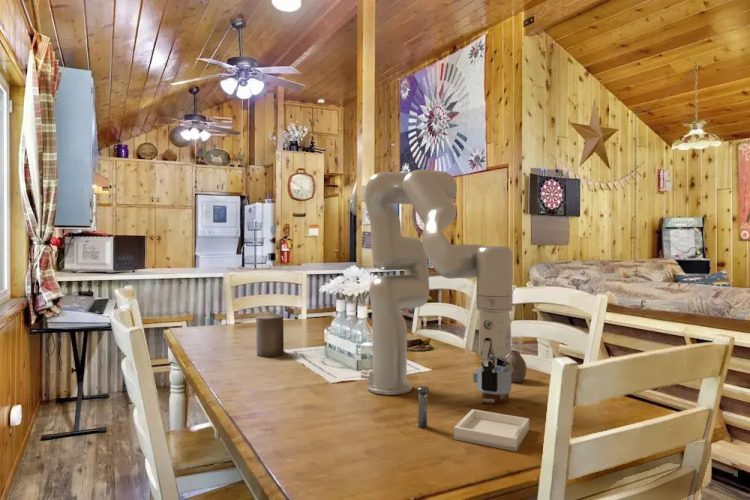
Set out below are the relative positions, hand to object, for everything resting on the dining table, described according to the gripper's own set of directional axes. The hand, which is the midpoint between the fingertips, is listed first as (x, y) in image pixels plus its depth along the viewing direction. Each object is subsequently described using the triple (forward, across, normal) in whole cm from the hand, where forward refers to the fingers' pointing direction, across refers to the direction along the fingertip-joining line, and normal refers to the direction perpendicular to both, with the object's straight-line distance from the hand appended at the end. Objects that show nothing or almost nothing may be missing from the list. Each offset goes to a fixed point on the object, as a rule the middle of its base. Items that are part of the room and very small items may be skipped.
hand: (494, 385), depth 111 cm
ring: (+1, 0, 0) cm, 1 cm away
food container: (+11, +23, +4) cm, 26 cm away
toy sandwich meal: (+10, +70, +49) cm, 87 cm away
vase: (+11, +44, +5) cm, 46 cm away
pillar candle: (+10, +36, +90) cm, 98 cm away
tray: (+11, 0, 0) cm, 11 cm away
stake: (+11, -3, +15) cm, 19 cm away
